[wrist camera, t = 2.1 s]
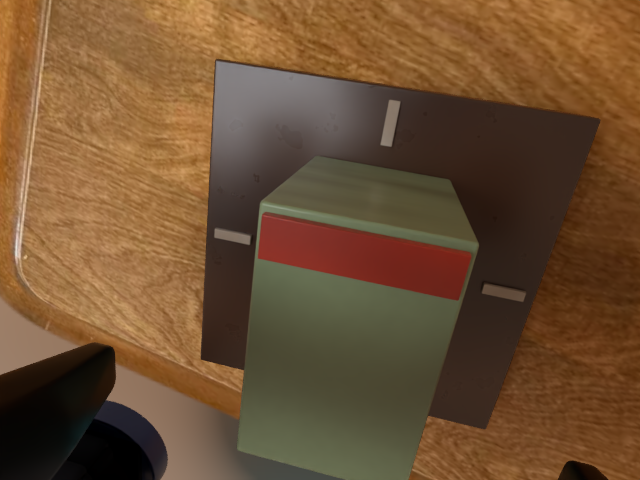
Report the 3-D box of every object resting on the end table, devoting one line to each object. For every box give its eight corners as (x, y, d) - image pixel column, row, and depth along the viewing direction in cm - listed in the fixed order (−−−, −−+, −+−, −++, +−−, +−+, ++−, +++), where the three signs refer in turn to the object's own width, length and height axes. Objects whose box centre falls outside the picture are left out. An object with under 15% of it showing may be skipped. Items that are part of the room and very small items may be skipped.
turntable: (478, 396, 19) (486, 433, 17) (218, 334, 20) (198, 362, 18) (577, 114, 14) (604, 119, 12) (236, 61, 16) (212, 58, 14)
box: (404, 357, 16) (403, 506, 11) (291, 331, 17) (232, 458, 11) (450, 179, 14) (483, 247, 8) (315, 154, 14) (255, 203, 9)
